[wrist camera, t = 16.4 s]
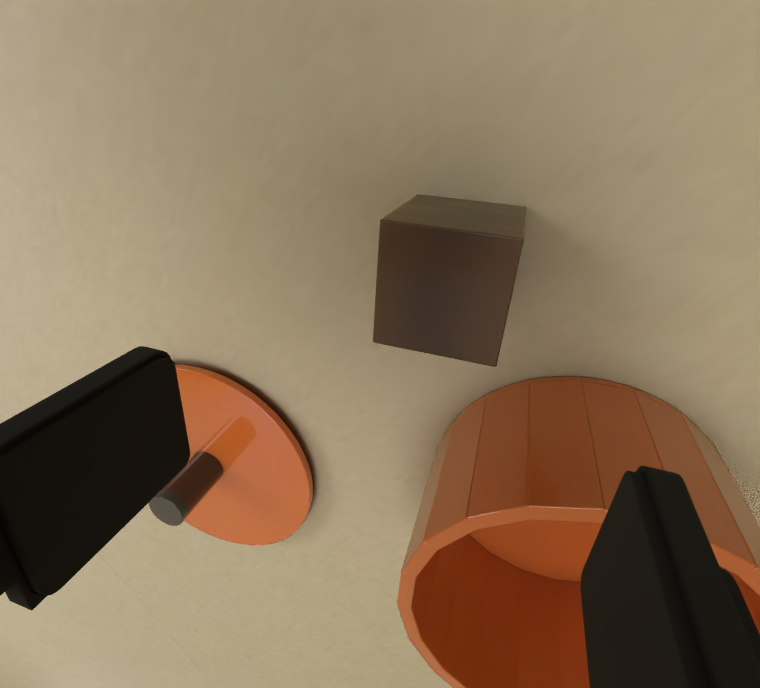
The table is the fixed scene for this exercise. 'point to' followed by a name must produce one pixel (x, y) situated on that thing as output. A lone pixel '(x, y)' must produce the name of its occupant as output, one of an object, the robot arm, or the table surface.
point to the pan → (546, 525)
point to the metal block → (447, 276)
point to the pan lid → (235, 465)
